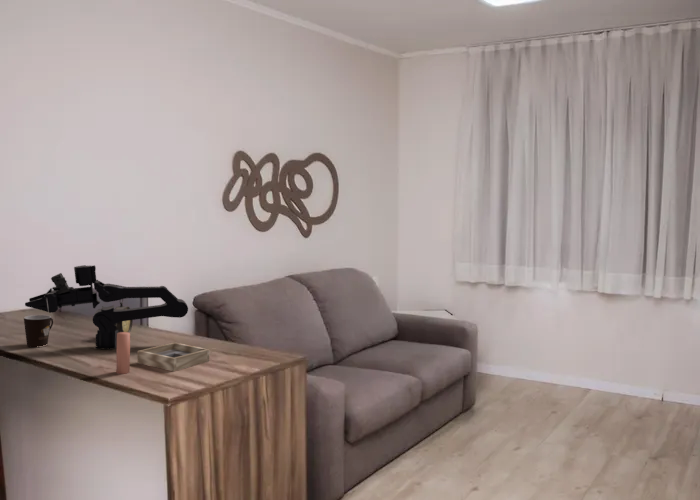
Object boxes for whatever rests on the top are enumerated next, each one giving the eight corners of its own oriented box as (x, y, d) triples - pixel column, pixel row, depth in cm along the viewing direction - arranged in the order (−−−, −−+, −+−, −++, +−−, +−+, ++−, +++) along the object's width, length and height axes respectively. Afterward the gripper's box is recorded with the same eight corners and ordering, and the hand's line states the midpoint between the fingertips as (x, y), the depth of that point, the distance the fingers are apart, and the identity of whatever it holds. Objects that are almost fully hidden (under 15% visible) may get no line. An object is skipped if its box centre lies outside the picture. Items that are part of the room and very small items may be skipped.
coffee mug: (30, 349, 212) (31, 320, 211) (18, 345, 217) (18, 316, 216) (64, 344, 221) (64, 316, 221) (51, 340, 226) (51, 313, 226)
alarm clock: (122, 341, 230) (123, 297, 229) (107, 340, 230) (108, 297, 229) (133, 335, 241) (134, 293, 240) (119, 334, 241) (120, 292, 240)
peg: (131, 370, 192) (131, 332, 191) (126, 374, 188) (127, 334, 187) (118, 370, 192) (119, 331, 191) (114, 373, 188) (114, 334, 187)
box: (209, 361, 207) (209, 349, 207) (173, 371, 193) (174, 358, 193) (174, 353, 215) (174, 342, 215) (137, 363, 201) (137, 350, 201)
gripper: (76, 270, 223) (28, 275, 218) (72, 276, 205) (19, 282, 200) (80, 300, 224) (32, 306, 219) (76, 309, 206) (24, 316, 201)
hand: (27, 302), depth 210 cm, fingers open, 9 cm apart
